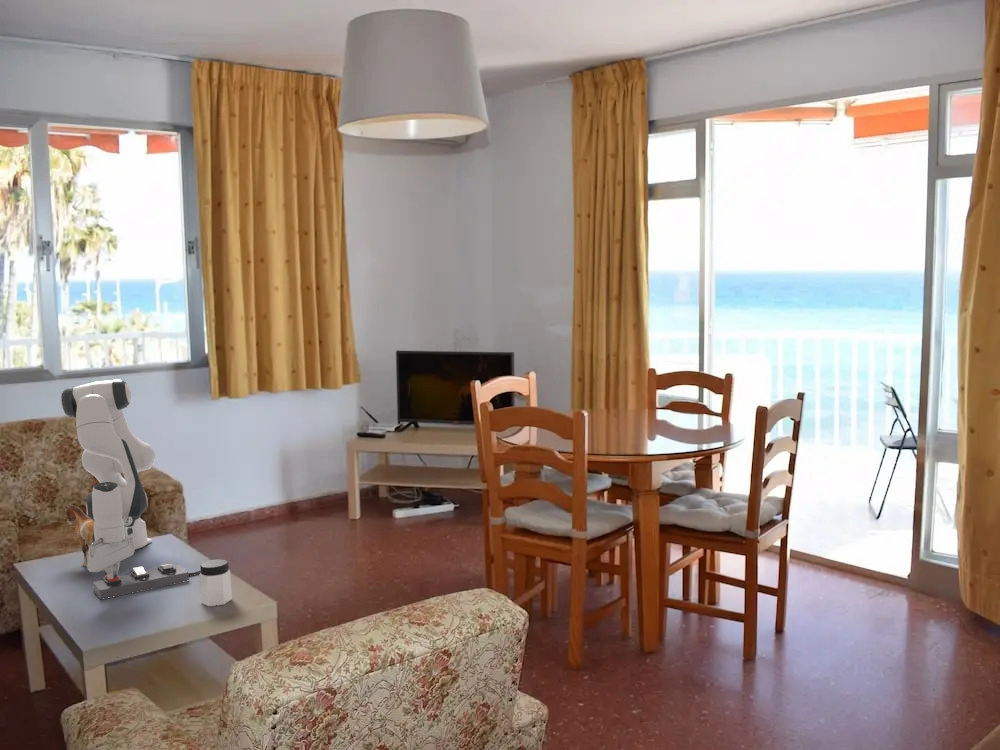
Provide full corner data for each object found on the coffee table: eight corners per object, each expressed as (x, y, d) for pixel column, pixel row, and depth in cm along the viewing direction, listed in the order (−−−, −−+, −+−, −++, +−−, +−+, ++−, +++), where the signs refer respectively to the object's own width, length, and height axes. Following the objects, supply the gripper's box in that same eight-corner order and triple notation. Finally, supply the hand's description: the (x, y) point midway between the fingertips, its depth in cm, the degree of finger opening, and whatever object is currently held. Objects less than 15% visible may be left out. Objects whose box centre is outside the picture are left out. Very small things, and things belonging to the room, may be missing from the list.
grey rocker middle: (133, 572, 300) (133, 567, 299) (142, 570, 301) (142, 565, 301) (137, 579, 296) (137, 574, 295) (146, 577, 297) (146, 572, 297)
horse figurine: (68, 561, 327) (63, 504, 324) (91, 556, 332) (86, 500, 329) (94, 582, 303) (89, 520, 300) (118, 576, 308) (113, 516, 305)
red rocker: (105, 579, 295) (105, 574, 295) (114, 577, 296) (114, 572, 296) (109, 583, 291) (108, 578, 291) (118, 581, 292) (118, 576, 292)
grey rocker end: (160, 570, 304) (160, 565, 304) (169, 568, 306) (168, 563, 306) (164, 570, 300) (163, 565, 300) (173, 568, 302) (172, 564, 302)
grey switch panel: (93, 591, 294) (92, 579, 293) (199, 569, 313) (198, 558, 312) (100, 599, 286) (99, 587, 285) (208, 576, 305) (208, 565, 304)
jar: (236, 601, 281) (234, 562, 280) (212, 608, 275) (209, 569, 274) (221, 594, 287) (218, 557, 286) (197, 601, 281) (194, 563, 280)
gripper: (98, 543, 279) (102, 588, 280) (136, 526, 299) (140, 568, 300) (80, 543, 280) (83, 587, 281) (119, 526, 300) (122, 568, 301)
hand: (113, 577), depth 291 cm, fingers closed
